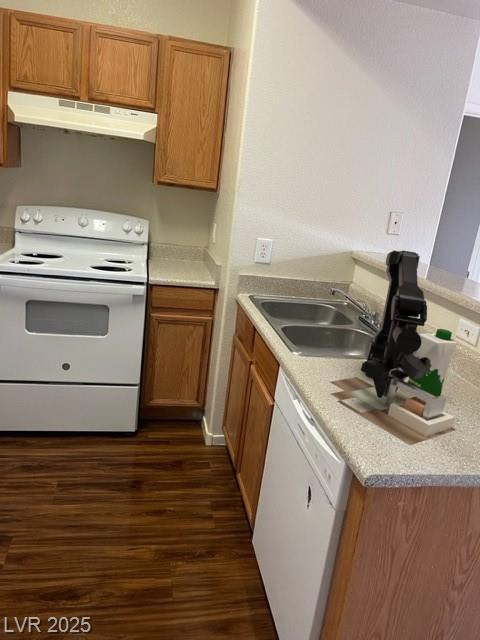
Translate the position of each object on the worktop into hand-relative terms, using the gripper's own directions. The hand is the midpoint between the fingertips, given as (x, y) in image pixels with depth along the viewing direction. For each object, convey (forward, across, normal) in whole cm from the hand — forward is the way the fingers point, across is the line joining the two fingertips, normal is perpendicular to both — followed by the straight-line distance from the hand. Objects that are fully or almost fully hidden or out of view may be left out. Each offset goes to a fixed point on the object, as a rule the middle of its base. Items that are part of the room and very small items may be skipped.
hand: (385, 396), depth 127 cm
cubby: (+2, 0, -11) cm, 11 cm away
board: (+3, -3, -1) cm, 5 cm away
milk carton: (+4, +19, +1) cm, 19 cm away
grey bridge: (+2, 0, -6) cm, 7 cm away
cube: (+2, 0, -10) cm, 10 cm away
